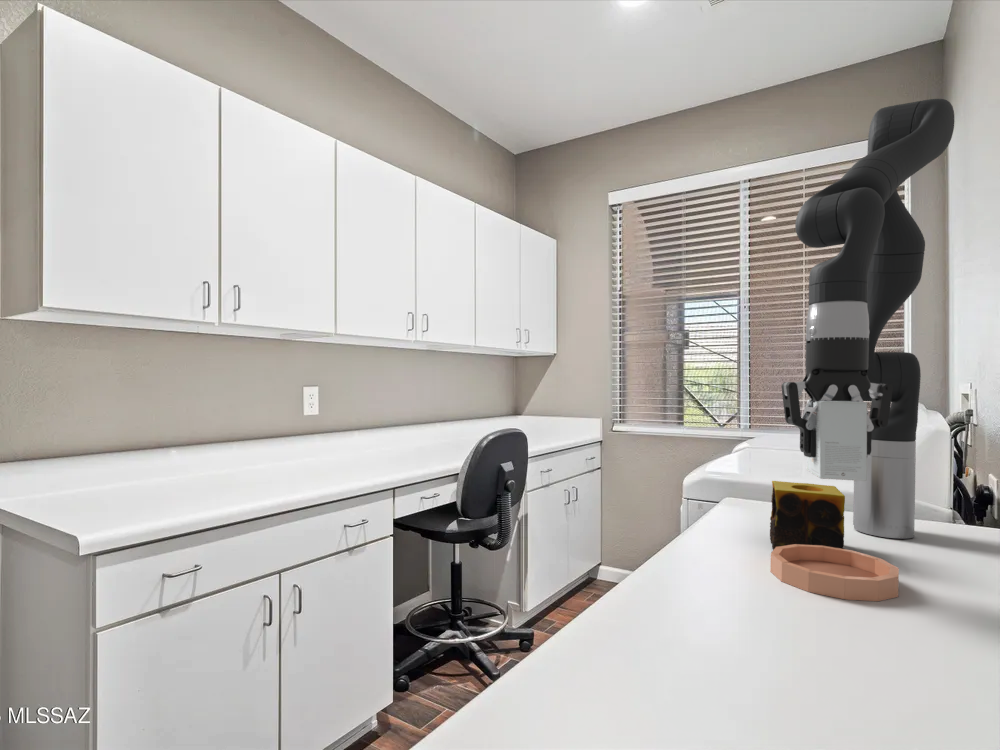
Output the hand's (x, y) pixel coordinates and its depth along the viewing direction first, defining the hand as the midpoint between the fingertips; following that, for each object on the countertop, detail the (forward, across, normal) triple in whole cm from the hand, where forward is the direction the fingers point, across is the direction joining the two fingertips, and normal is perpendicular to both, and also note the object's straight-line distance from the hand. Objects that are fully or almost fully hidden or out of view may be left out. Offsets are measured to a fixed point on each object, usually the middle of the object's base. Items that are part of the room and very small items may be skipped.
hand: (834, 457), depth 79 cm
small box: (+3, 0, 0) cm, 3 cm away
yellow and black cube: (+17, -3, -16) cm, 24 cm away
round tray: (+17, 0, 0) cm, 17 cm away
